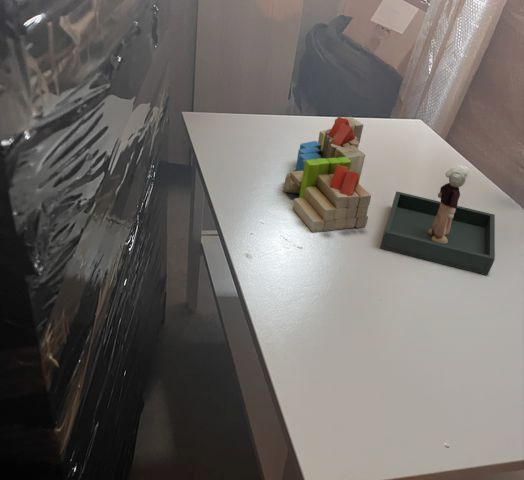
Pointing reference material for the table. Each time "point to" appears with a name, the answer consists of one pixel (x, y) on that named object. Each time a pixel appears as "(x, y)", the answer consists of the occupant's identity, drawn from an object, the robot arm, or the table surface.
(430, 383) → the table surface
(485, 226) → the tray
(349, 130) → the pile of blocks
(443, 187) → the grandmother figurine
